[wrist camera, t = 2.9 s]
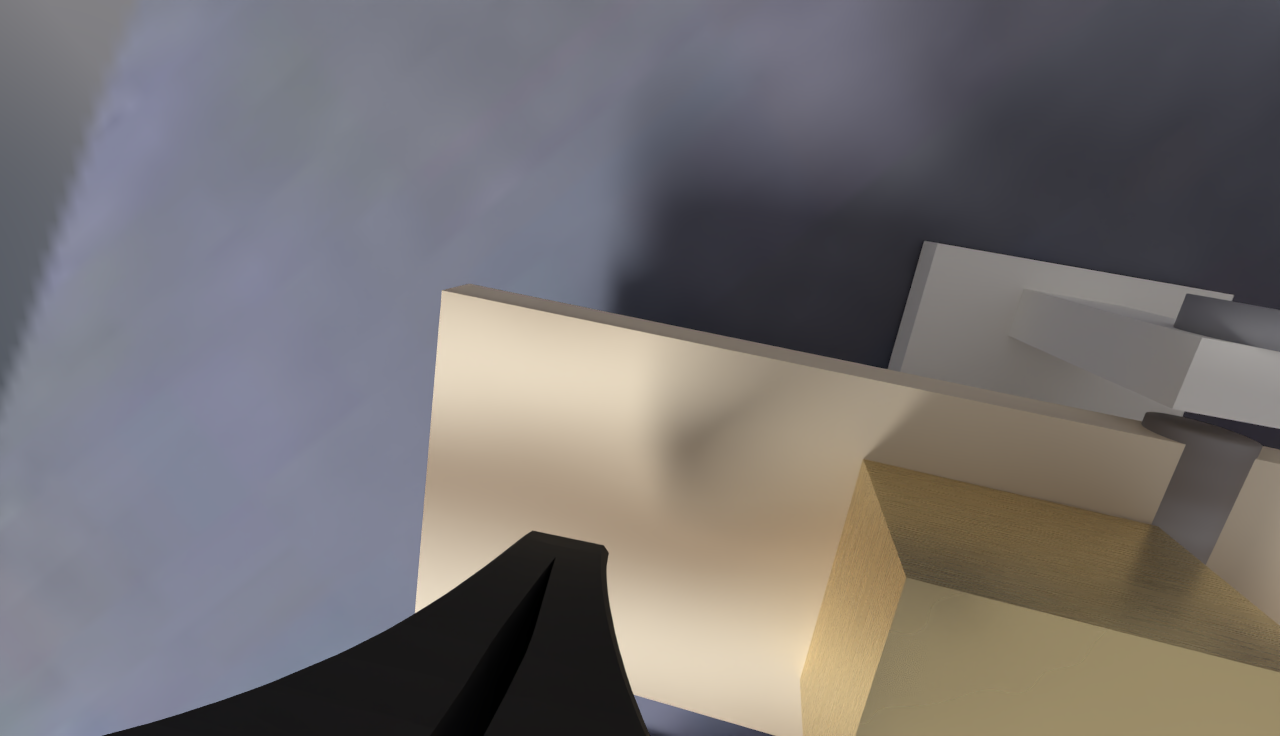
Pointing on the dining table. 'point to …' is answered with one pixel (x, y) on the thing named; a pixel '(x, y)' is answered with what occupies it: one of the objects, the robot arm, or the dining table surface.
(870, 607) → the rider
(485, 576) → the robot arm
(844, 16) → the dining table surface
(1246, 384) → the stand
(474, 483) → the beam
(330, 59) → the dining table surface
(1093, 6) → the dining table surface
